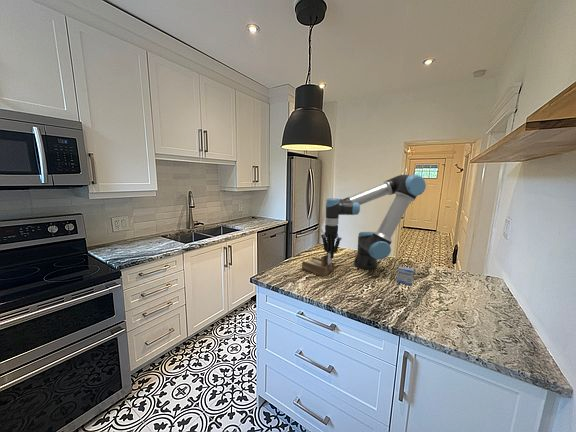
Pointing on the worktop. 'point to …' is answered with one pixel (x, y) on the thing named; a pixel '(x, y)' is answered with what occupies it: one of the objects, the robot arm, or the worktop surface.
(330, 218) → the robot arm
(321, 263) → the cover plate
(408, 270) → the medicine box
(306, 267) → the walnut box
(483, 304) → the worktop surface
